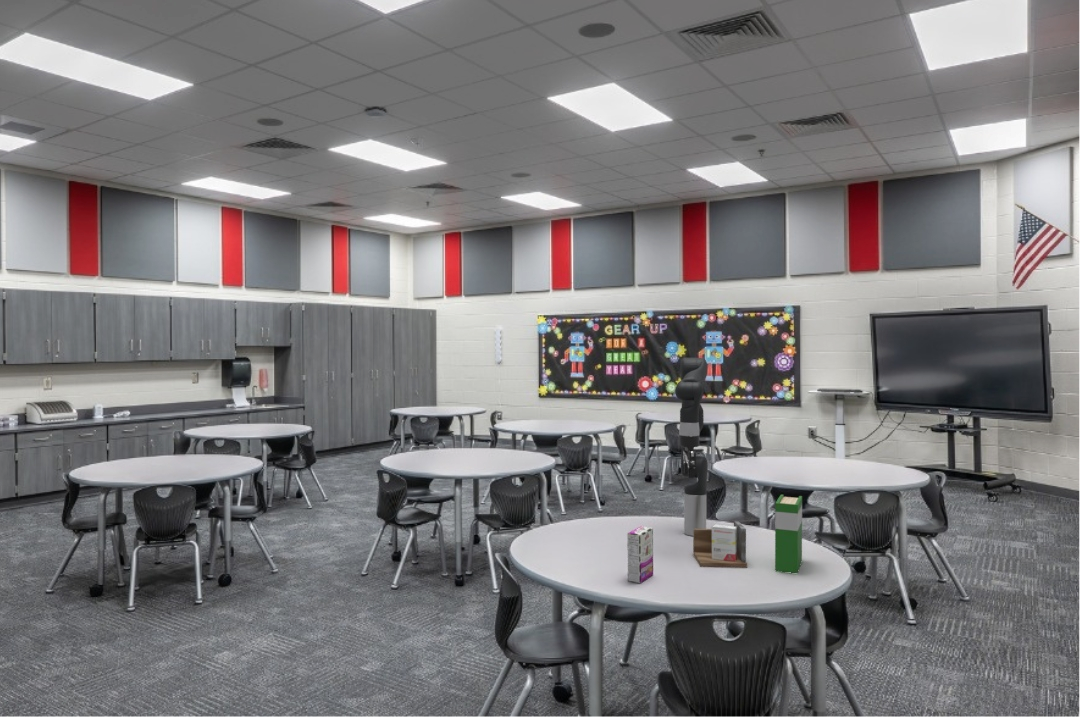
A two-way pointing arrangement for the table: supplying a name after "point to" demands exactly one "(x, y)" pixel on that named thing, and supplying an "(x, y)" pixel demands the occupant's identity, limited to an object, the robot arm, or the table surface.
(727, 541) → the ink box
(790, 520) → the hardback book
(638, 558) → the candy bar box
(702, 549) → the wooden book holder
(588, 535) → the table surface
